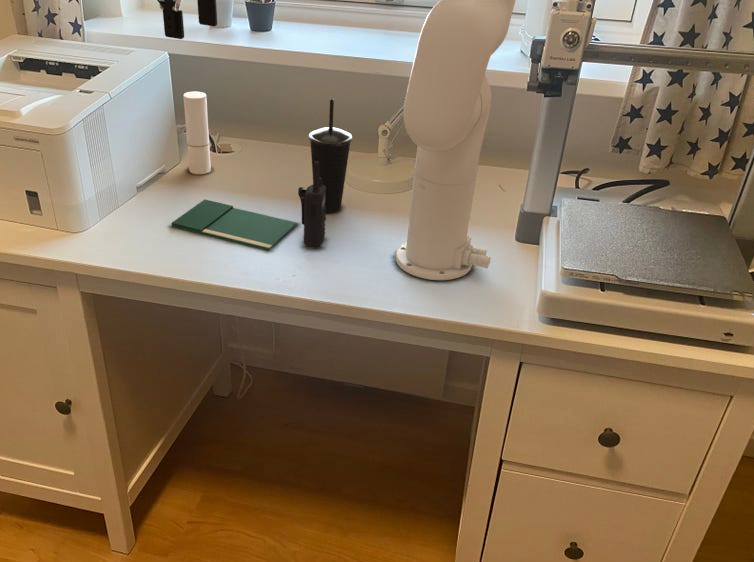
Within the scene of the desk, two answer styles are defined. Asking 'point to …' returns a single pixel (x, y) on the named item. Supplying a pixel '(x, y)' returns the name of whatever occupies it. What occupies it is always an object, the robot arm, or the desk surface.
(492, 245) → the desk surface
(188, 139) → the tube
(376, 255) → the desk surface
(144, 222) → the desk surface
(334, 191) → the drinking cup
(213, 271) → the desk surface
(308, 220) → the two-way radio
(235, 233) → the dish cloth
